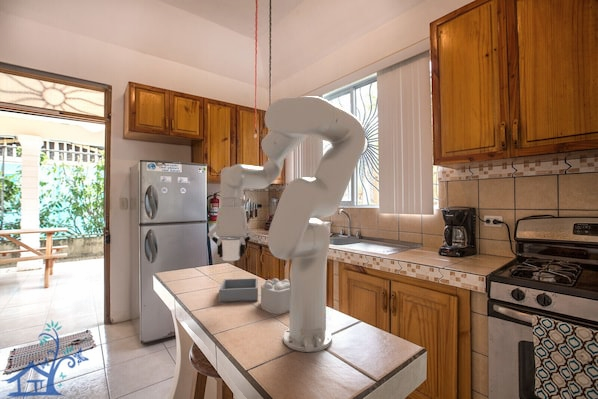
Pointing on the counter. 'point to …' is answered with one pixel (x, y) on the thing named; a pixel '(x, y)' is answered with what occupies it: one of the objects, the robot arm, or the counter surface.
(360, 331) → the counter surface
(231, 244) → the white cylinder
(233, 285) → the bin
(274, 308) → the lumpy-topped squat cylinder
